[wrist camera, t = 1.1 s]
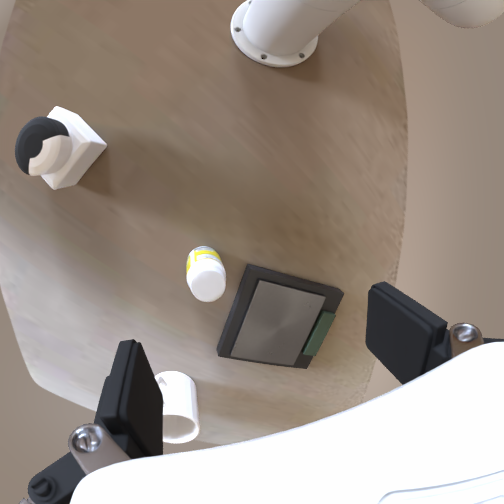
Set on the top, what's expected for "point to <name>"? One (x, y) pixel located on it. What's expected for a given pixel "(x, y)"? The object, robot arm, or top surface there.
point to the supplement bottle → (206, 274)
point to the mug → (179, 407)
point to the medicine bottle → (57, 148)
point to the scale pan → (276, 323)
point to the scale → (256, 272)
